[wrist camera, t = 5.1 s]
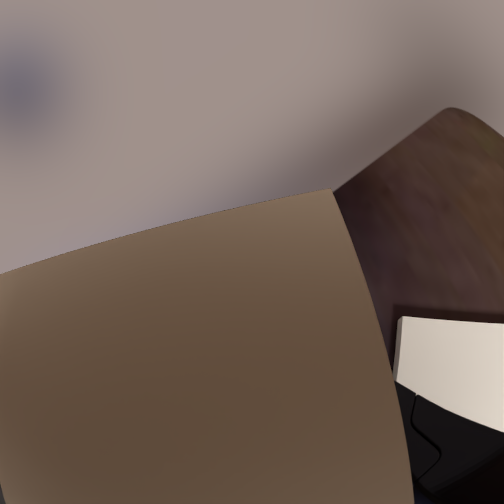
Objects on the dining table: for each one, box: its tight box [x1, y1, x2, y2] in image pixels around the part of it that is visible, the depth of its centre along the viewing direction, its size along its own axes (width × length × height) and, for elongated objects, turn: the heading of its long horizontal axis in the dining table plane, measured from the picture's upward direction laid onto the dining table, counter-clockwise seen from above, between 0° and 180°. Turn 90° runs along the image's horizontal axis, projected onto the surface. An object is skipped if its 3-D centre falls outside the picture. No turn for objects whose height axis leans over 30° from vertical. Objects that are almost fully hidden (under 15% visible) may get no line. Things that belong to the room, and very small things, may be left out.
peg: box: [0, 188, 414, 504], centre depth 7 cm, size 4×4×12 cm
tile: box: [393, 316, 504, 432], centre depth 14 cm, size 10×10×1 cm
